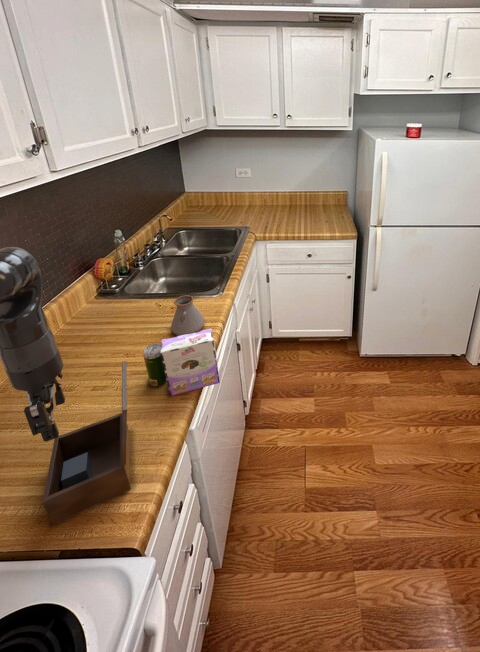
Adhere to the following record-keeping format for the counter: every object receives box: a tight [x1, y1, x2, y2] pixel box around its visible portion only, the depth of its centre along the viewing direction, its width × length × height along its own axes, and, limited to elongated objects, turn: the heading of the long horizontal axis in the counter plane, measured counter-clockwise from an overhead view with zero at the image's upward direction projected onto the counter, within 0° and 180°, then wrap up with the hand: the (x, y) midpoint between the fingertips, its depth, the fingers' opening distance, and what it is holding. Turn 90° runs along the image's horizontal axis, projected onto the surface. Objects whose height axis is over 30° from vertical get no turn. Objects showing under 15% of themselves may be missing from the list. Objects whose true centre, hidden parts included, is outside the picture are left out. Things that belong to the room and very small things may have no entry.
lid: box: [121, 360, 128, 466], centre depth 72 cm, size 14×15×1 cm
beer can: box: [143, 343, 167, 388], centre depth 96 cm, size 5×5×12 cm
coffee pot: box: [170, 294, 205, 336], centre depth 113 cm, size 21×12×15 cm, turn 19°
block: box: [61, 452, 92, 489], centre depth 72 cm, size 4×4×4 cm
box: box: [41, 412, 132, 526], centre depth 73 cm, size 14×15×8 cm
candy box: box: [160, 328, 221, 397], centre depth 95 cm, size 14×6×16 cm, turn 111°
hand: (55, 420), depth 66 cm, fingers open, 8 cm apart
